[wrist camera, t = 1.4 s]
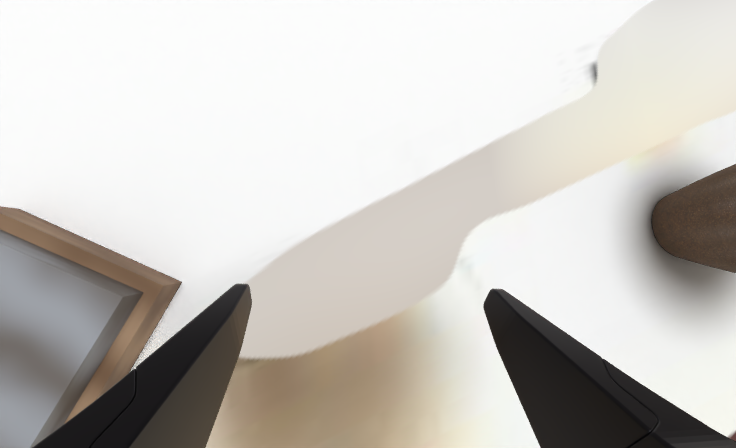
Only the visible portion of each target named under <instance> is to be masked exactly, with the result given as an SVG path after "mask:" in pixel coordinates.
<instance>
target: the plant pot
mask: <svg viewBox="0 0 736 448" xmlns="http://www.w3.org/2000/svg"><path fill="white" fill-rule="evenodd" d="M652 226H653V231H654V235H655V237H656V239H657V241H658V243H659V244H660V245H661V246H662V248H663V249H664V250H666V251H667V252H668V253H670V254H671V255H673V256H676V257H679V258H682V259H686V260H689V261H693V262H696V263H699V264H703V265H707V266H710V267H714V268H718V269H722V270H726V271H730V272H734V273H736V164H735V165H732V166H730V167H728V168H725V169H723V170H720V171H718V172H716V173H714V174H711V175H709V176H707V177H705V178H703V179H700V180H698V181H696V182H694V183H692V184H690V185H688V186H686V187H684V188H682V189H680V190H678V191H676V192H674V193H672V194H670V195H668V196H666V197H664V198H663V199H661V200H660V201H659V202H658V204H657V205H656V207H655V209H654V211H653V215H652Z"/></svg>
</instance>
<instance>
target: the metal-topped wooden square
mask: <svg viewBox="0 0 736 448" xmlns="http://www.w3.org/2000/svg"><path fill="white" fill-rule="evenodd" d="M181 283H182V282H180V281H178V280H176V279H174V278H172V277H169V276H167V275H165V274H163V273H160V272H158V271H156V270H154V269H152V268H149V267H147V266H145V265H143V264H140V263H138V262H136V261H134V260H132V259H129V258H127V257H125V256H123V255H120V254H118V253H116V252H114V251H111V250H109V249H107V248H105V247H103V246H100V245H98V244H96V243H94V242H91V241H89V240H87V239H85V238H83V237H80V236H78V235H76V234H74V233H71V232H69V231H67V230H65V229H62V228H60V227H58V226H56V225H54V224H51V223H49V222H47V221H45V220H42V219H40V218H38V217H36V216H34V215H31V214H29V213H27V212H25V211H22V210H20V209H15V208H8V207H0V448H32V447H34V446H35V445H36V444H38V443H39V442H40V441H42V440H43V439H44V438H46V437H47V436H49V435H50V434H51V433H53V432H54V431H55V430H57V429H58V428H59V427H61V426H62V425H63V424H65V423H66V422H67V421H69V420H70V419H71V418H73V417H74V416H75V415H77V414H78V413H79V412H81V411H82V410H83V409H85V408H86V407H87V406H89V405H90V404H91V403H93V402H94V401H95V400H96V399H98V398H99V397H100V396H101V395H103V394H104V393H105V392H106V391H108V390H109V389H110V388H111V387H113V386H114V385H115V384H116V383H117V382H119V381H120V380H121V379H122V378H123V377H125V376H126V375H127V374H128V373H129V372H130V370H131V368H132V366H133V365H134V363H135V361H136V360H137V358H138V356H139V354H140V353H141V351H142V349H143V348H144V346H145V344H146V342H147V341H148V339H149V337H150V336H151V334H152V332H153V331H154V329H155V327H156V325H157V324H158V322H159V320H160V319H161V317H162V315H163V313H164V312H165V310H166V308H167V307H168V305H169V303H170V301H171V300H172V298H173V296H174V295H175V293H176V291H177V290H178V288H179V286H180V284H181Z"/></svg>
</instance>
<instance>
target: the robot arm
mask: <svg viewBox="0 0 736 448" xmlns="http://www.w3.org/2000/svg"><path fill="white" fill-rule="evenodd" d="M251 305H252V299H251V293H250V287H249V285H248V284H235V285H234V286H232V287H231V288H230V289H229V290H228V291H226V292H225V293H224V294H223V295H222V296H220V297H219V298H218V299H217V300H216V301H214V302H213V303H212V304H211V305H210V306H208V307H207V308H206V309H205V310H204V311H203V312H201V313H200V314H199V315H198V316H197V317H195V318H194V319H193V320H192V321H191V322H189V323H188V324H187V325H186V326H185V327H183V328H182V329H181V330H180V331H179V332H177V333H176V334H175V335H174V336H173V337H171V338H170V339H169V340H168V341H167V342H165V343H164V344H163V345H162V346H161V347H160V348H158V349H157V350H156V351H155V352H154V353H152V354H151V355H150V356H149V357H148V358H146V359H145V360H144V361H143V362H142V363H140V364H139V365H138V366H137V367H136V369H133V370H132V371H131V372H129V373H128V374H127V375H126V376H125V377H123V378H122V379H121V380H120V381H119V382H117V383H116V384H115V385H114V386H113V387H111V388H110V389H109V390H108V391H106V392H105V393H104V394H103V395H101V396H100V397H99V398H98V399H96V400H95V401H94V402H93V403H91V404H90V405H89V406H87V407H86V408H85V409H83V410H82V411H81V412H79V413H78V414H77V415H75V416H74V417H73V418H71V419H70V420H69V421H67V422H66V423H65V424H63V425H62V426H61V427H59V428H58V429H57V430H55V431H54V432H53V433H51V434H50V435H49V436H47V437H46V438H44V439H43V440H42V441H40V442H39V443H38V444H36V445H35V446H34V447H32V448H205V447H206V444H207V442H208V439H209V436H210V433H211V431H212V428H213V425H214V422H215V420H216V417H217V414H218V412H219V409H220V406H221V403H222V401H223V398H224V395H225V392H226V390H227V387H228V384H229V381H230V379H231V376H232V373H233V371H234V368H235V365H236V362H237V360H238V357H239V354H240V350H241V347H242V343H243V339H244V335H245V331H246V327H247V323H248V319H249V314H250V310H251ZM484 311H485V314H486V317H487V320H488V323H489V326H490V329H491V332H492V335H493V339H494V341H495V344H496V347H497V349H498V352H499V354H500V356H501V359H502V361H503V363H504V366H505V368H506V370H507V372H508V375H509V377H510V379H511V381H512V384H513V386H514V388H515V391H516V393H517V395H518V397H519V400H520V402H521V404H522V406H523V409H524V411H525V413H526V415H527V418H528V420H529V422H530V425H531V427H532V429H533V431H534V434H535V436H536V438H537V440H538V443H539V445H540V447H541V448H736V441H734V440H732V439H730V438H728V437H726V436H724V435H722V434H720V433H718V432H717V431H715V430H713V429H712V428H710V427H708V426H707V425H705V424H704V423H702V422H700V421H699V420H697V419H696V418H694V417H692V416H691V415H689V414H688V413H686V412H684V411H683V410H681V409H680V408H678V407H677V406H675V405H673V404H672V403H670V402H669V401H667V400H665V399H664V398H662V397H661V396H659V395H657V394H656V393H654V392H653V391H651V390H650V389H648V388H646V387H645V386H643V385H642V384H640V383H639V382H637V381H635V380H634V379H632V378H631V377H630V376H628V375H627V374H625V373H624V372H622V371H621V370H619V369H618V368H616V367H615V366H613V365H612V364H610V363H609V362H608V361H606V360H605V359H602V358H601V357H600V356H599V355H597V354H596V353H594V352H593V351H592V350H590V349H589V348H587V347H586V346H584V345H583V344H581V343H580V342H578V341H577V340H576V339H574V338H573V337H571V336H570V335H568V334H567V333H565V332H564V331H563V330H561V329H560V328H558V327H557V326H555V325H554V324H552V323H551V322H549V321H548V320H547V319H545V318H544V317H542V316H541V315H539V314H538V313H536V312H535V311H534V310H532V309H531V308H529V307H528V306H526V305H525V304H523V303H522V302H520V301H519V300H518V299H516V298H515V297H513V296H512V295H510V294H509V293H507V292H506V291H504V290H503V289H491V290H490V292H489V294H488V296H487V298H486V300H485V302H484Z"/></svg>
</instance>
